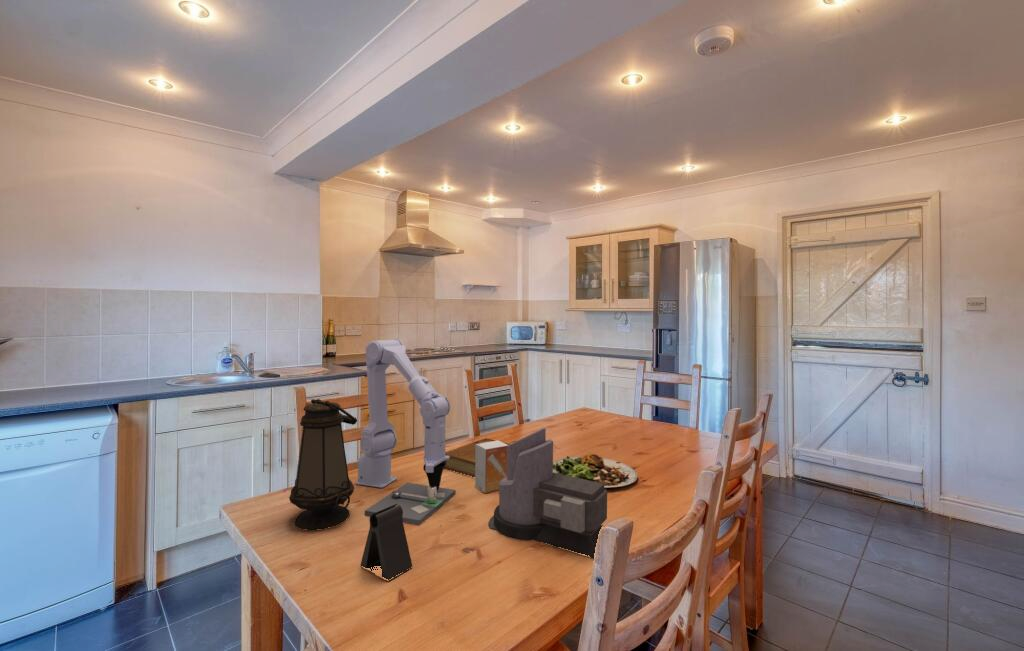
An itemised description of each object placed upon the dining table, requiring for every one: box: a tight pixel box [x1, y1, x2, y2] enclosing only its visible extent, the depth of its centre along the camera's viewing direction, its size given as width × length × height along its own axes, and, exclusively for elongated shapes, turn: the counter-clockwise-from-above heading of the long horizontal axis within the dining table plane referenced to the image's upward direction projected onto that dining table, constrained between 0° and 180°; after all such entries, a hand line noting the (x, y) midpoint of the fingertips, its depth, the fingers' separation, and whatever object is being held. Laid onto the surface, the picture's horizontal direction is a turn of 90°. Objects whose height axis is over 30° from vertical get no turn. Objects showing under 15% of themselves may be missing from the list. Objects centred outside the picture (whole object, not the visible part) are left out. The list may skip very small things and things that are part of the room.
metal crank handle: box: [391, 485, 438, 503], centre depth 120 cm, size 14×3×4 cm, turn 70°
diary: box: [443, 437, 511, 478], centre depth 152 cm, size 23×19×6 cm
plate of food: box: [553, 452, 639, 489], centre depth 142 cm, size 28×28×6 cm
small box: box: [474, 440, 508, 494], centre depth 132 cm, size 8×6×13 cm
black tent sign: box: [360, 504, 413, 580], centre depth 90 cm, size 9×6×12 cm, turn 53°
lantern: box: [289, 398, 358, 531], centre depth 111 cm, size 18×15×30 cm
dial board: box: [364, 482, 456, 526], centre depth 120 cm, size 16×20×1 cm
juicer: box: [487, 427, 608, 560], centre depth 106 cm, size 30×16×24 cm, turn 58°
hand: (434, 489), depth 122 cm, fingers closed
